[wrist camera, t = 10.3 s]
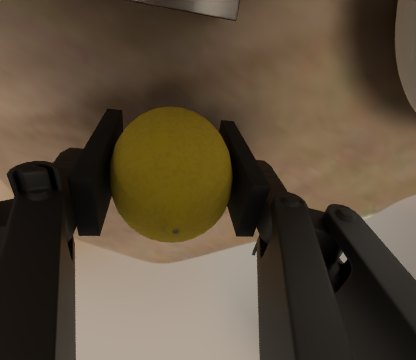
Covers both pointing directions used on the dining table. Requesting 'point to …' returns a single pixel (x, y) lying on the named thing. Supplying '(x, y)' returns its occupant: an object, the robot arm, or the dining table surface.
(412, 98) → the serving bowl
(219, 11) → the tray
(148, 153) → the lemon
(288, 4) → the dining table surface
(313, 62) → the dining table surface
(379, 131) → the dining table surface
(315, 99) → the dining table surface
